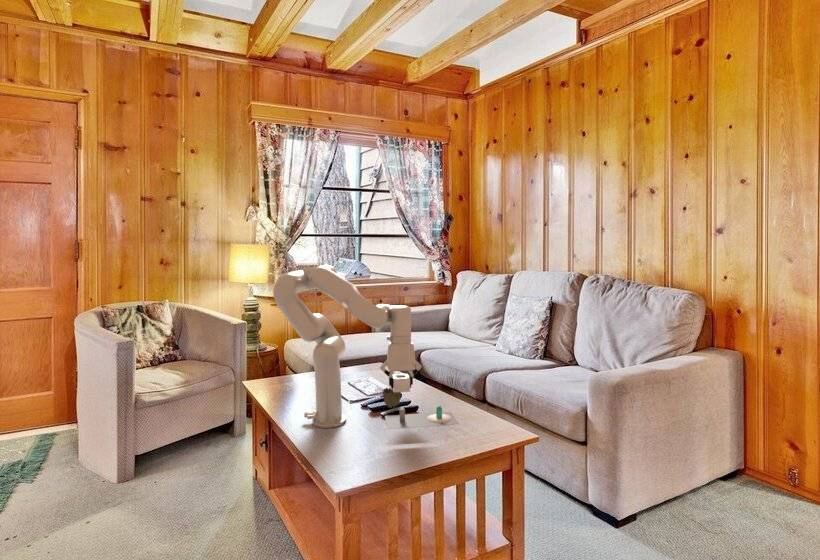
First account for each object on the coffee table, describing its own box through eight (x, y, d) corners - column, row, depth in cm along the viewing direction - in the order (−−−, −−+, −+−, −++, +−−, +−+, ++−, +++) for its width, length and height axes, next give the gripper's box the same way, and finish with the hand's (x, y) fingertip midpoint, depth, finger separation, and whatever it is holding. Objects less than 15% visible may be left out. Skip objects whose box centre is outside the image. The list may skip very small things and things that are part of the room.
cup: (398, 412, 202) (398, 393, 201) (380, 411, 203) (380, 392, 203) (402, 406, 209) (402, 387, 208) (385, 405, 211) (385, 386, 210)
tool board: (388, 432, 182) (387, 415, 182) (384, 418, 195) (384, 403, 195) (458, 427, 186) (458, 411, 186) (450, 414, 199) (450, 399, 198)
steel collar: (393, 392, 185) (393, 379, 185) (391, 387, 191) (391, 374, 191) (410, 391, 186) (410, 378, 185) (407, 386, 192) (407, 373, 191)
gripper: (378, 342, 182) (378, 391, 183) (425, 340, 184) (425, 389, 186) (376, 337, 189) (376, 385, 191) (422, 336, 192) (422, 383, 193)
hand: (400, 386), depth 188 cm, fingers closed on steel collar, 6 cm apart
